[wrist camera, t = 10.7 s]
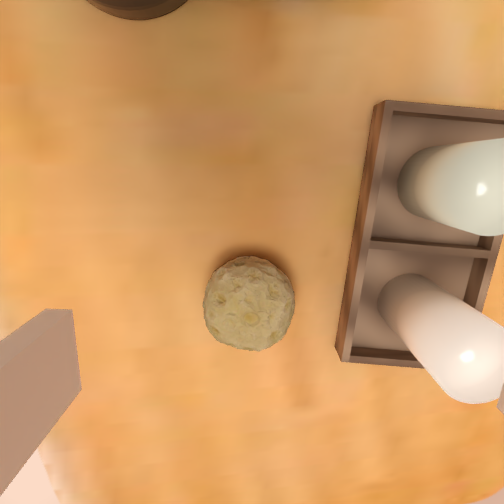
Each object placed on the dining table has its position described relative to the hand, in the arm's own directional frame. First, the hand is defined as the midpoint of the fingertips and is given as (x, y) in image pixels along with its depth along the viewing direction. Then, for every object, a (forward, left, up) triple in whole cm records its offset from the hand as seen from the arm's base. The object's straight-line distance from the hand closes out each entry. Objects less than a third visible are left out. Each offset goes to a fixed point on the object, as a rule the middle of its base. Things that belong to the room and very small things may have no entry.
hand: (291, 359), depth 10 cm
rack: (+1, +16, -26) cm, 30 cm away
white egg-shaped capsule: (-5, +16, -25) cm, 30 cm away
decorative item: (+8, -1, -26) cm, 27 cm away
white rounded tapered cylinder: (+7, +16, -25) cm, 30 cm away
